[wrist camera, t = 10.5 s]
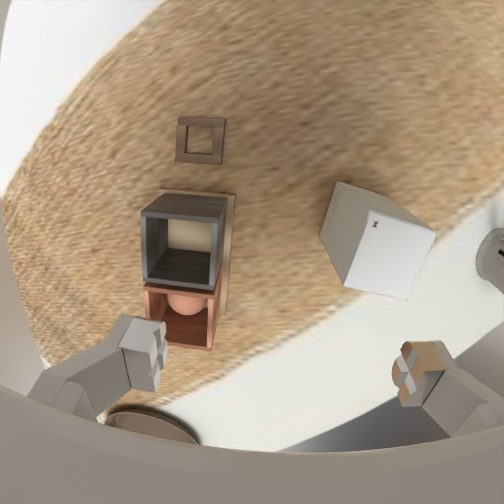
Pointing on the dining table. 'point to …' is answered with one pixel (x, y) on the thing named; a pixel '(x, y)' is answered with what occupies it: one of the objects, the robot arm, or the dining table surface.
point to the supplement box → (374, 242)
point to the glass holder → (492, 258)
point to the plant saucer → (150, 425)
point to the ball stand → (195, 157)
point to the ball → (186, 304)
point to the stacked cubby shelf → (187, 261)
